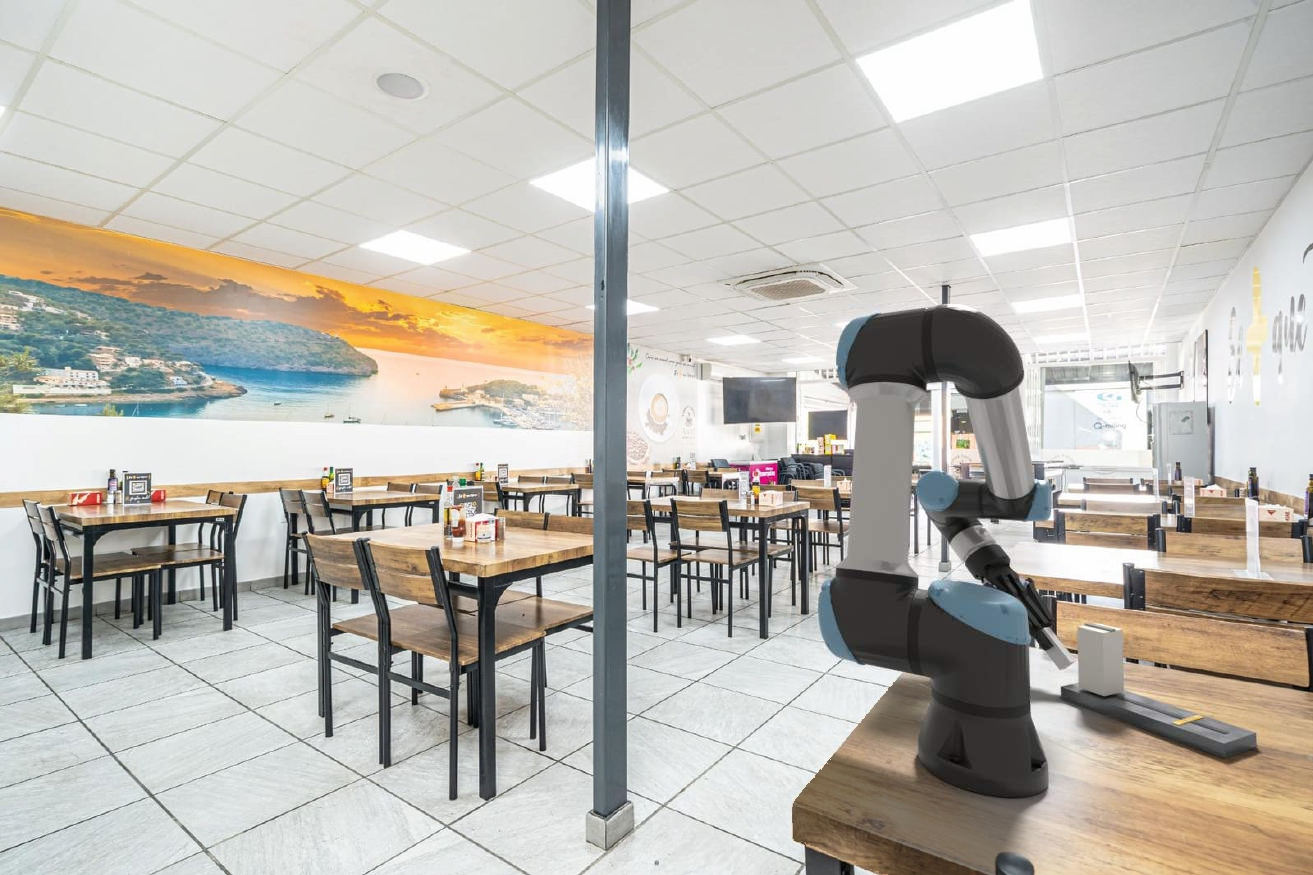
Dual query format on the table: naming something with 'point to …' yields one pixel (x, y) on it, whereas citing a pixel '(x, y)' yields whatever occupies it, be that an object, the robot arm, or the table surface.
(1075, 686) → the grey slotted track base
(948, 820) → the table surface
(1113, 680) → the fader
